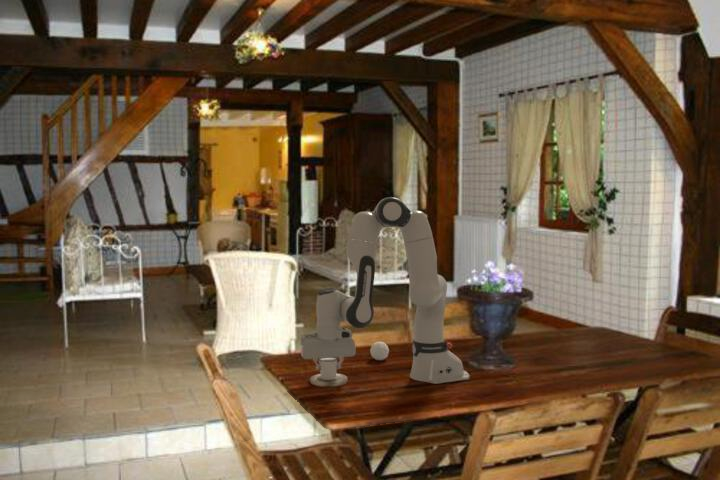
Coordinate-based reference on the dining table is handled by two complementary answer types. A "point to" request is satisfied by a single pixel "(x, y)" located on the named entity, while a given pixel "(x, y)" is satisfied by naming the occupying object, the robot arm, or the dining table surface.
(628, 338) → the dining table surface
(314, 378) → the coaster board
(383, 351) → the geometric ball
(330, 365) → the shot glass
